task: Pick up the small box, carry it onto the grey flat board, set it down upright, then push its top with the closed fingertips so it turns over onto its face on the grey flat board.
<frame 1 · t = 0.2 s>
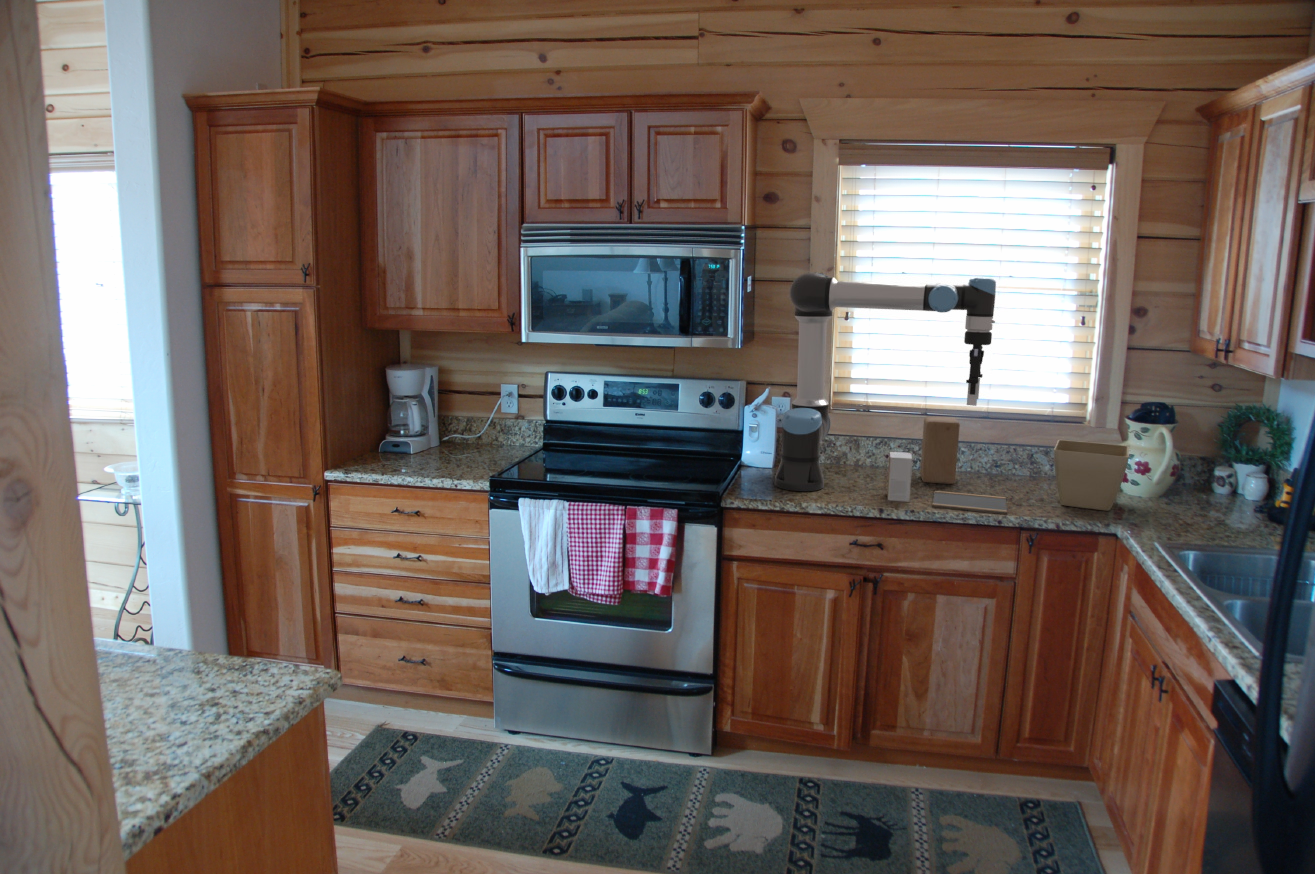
hand: (972, 402, 266), 27 cm above the worktop, fingers open, 13 cm apart
grey flat board: (969, 503, 257), on the worktop
small box: (897, 498, 263), on the worktop
wooden block: (937, 480, 285), on the worktop
flower pot: (1085, 504, 259), on the worktop
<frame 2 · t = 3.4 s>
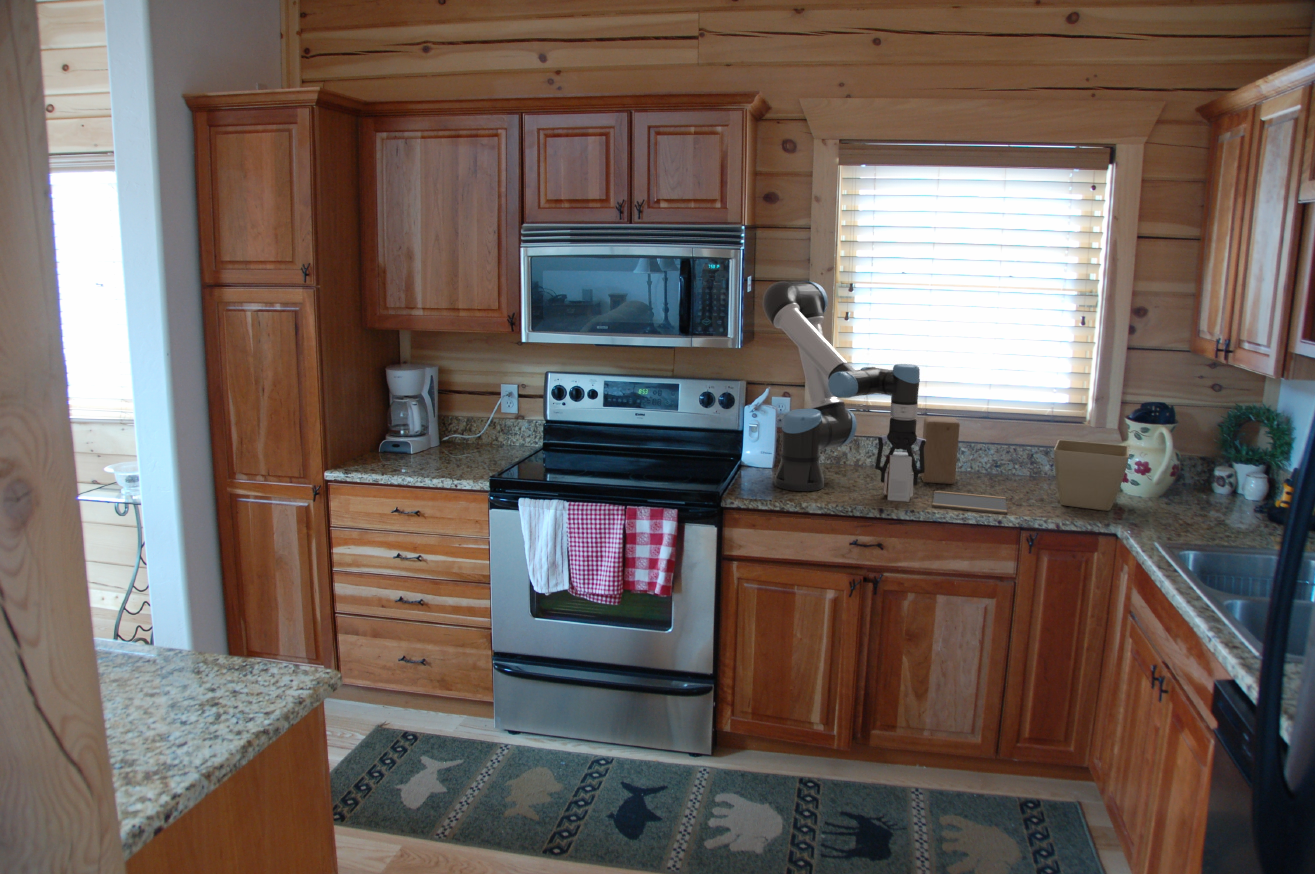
hand: (898, 494, 263), 1 cm above the worktop, fingers closed on small box, 7 cm apart
small box: (897, 498, 263), on the worktop, touching gripper
everything else where it was.
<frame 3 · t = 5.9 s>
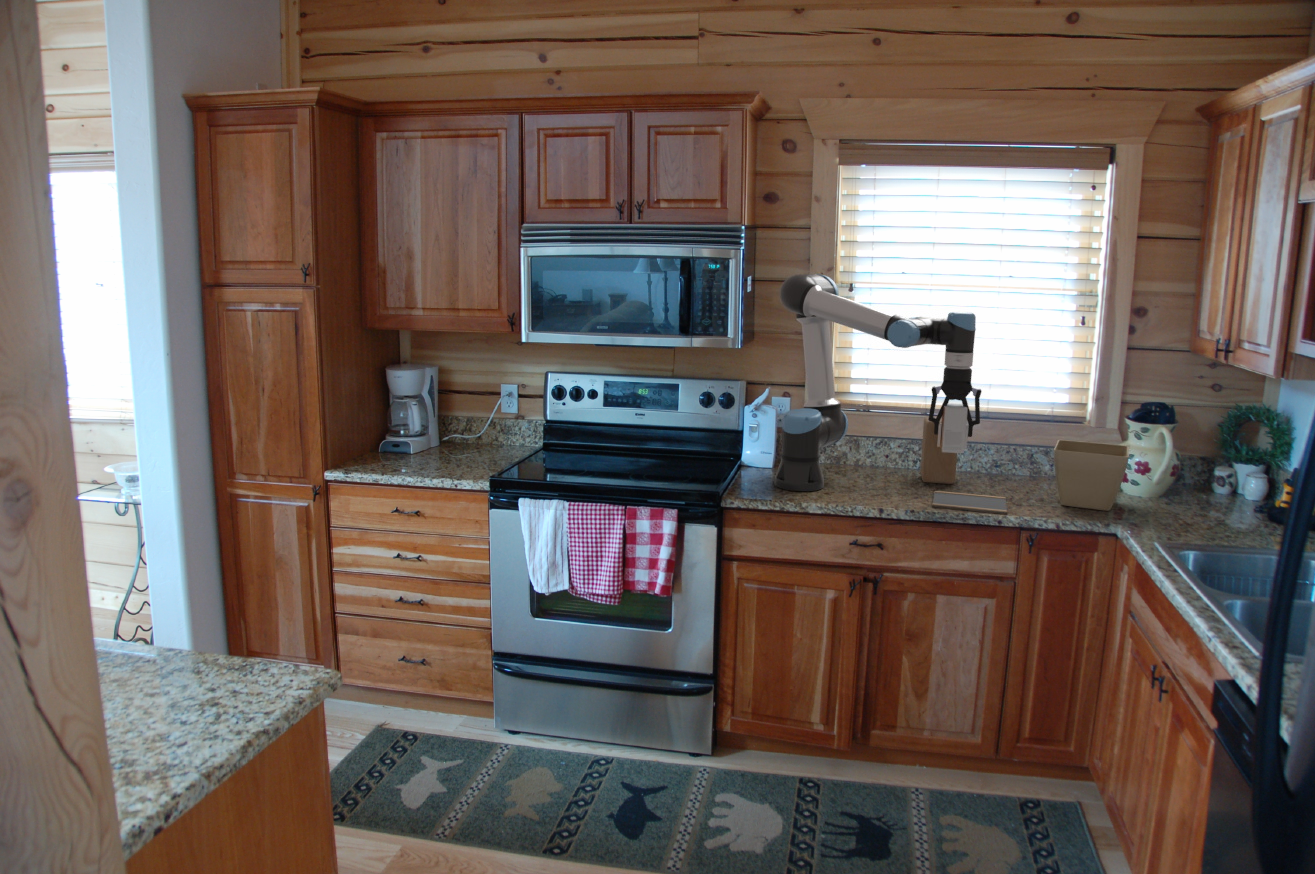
hand: (952, 446, 256), 16 cm above the worktop, fingers closed on small box, 7 cm apart
small box: (951, 450, 256), point 15 cm above the worktop, touching gripper
everything else where it was.
when the fingers open (3 cm above the worktop, at t = 8.2 s): small box drops 1 cm, resting on grey flat board.
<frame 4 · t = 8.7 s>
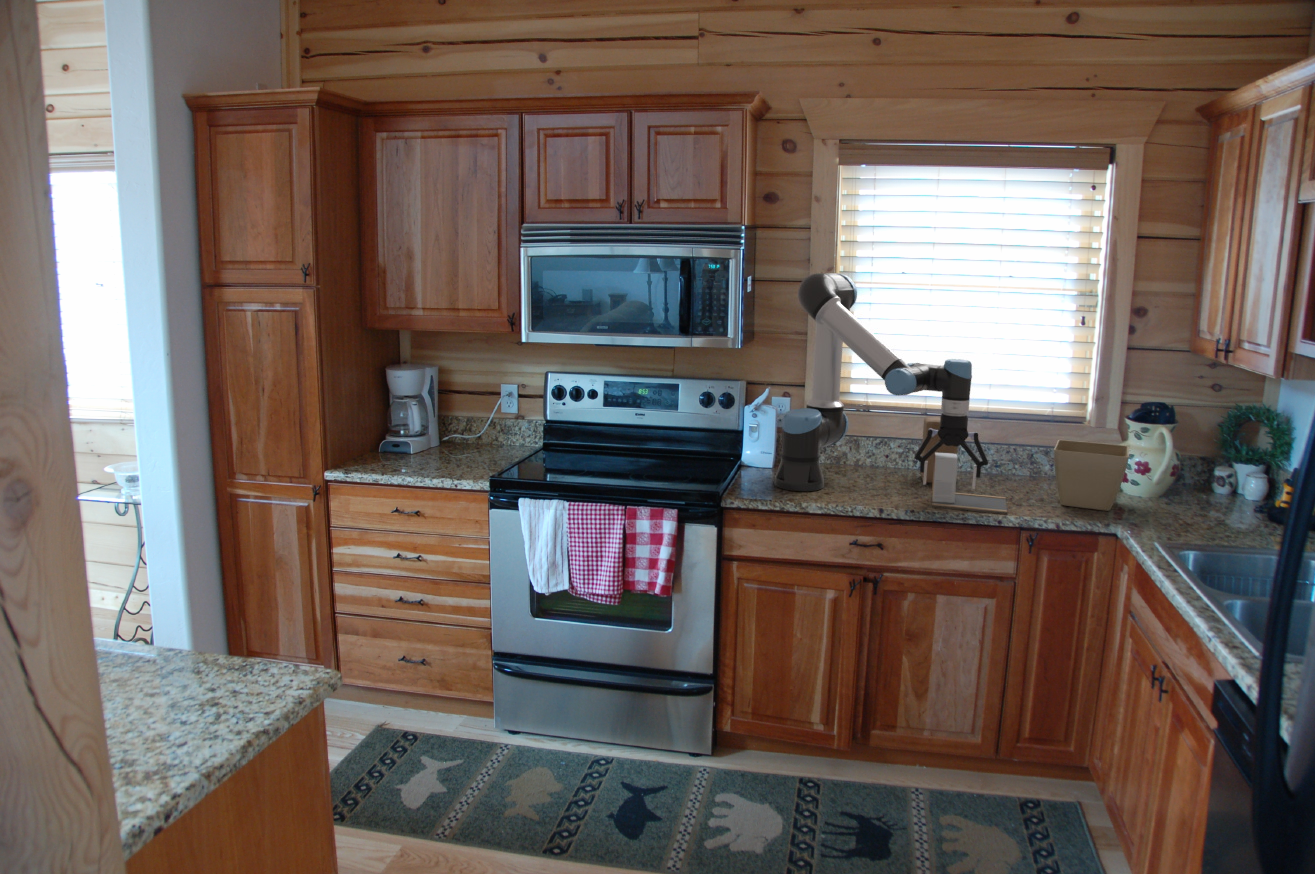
hand: (948, 485, 258), 5 cm above the worktop, fingers open, 13 cm apart
small box: (942, 499, 260), resting on grey flat board
everything else where it was.
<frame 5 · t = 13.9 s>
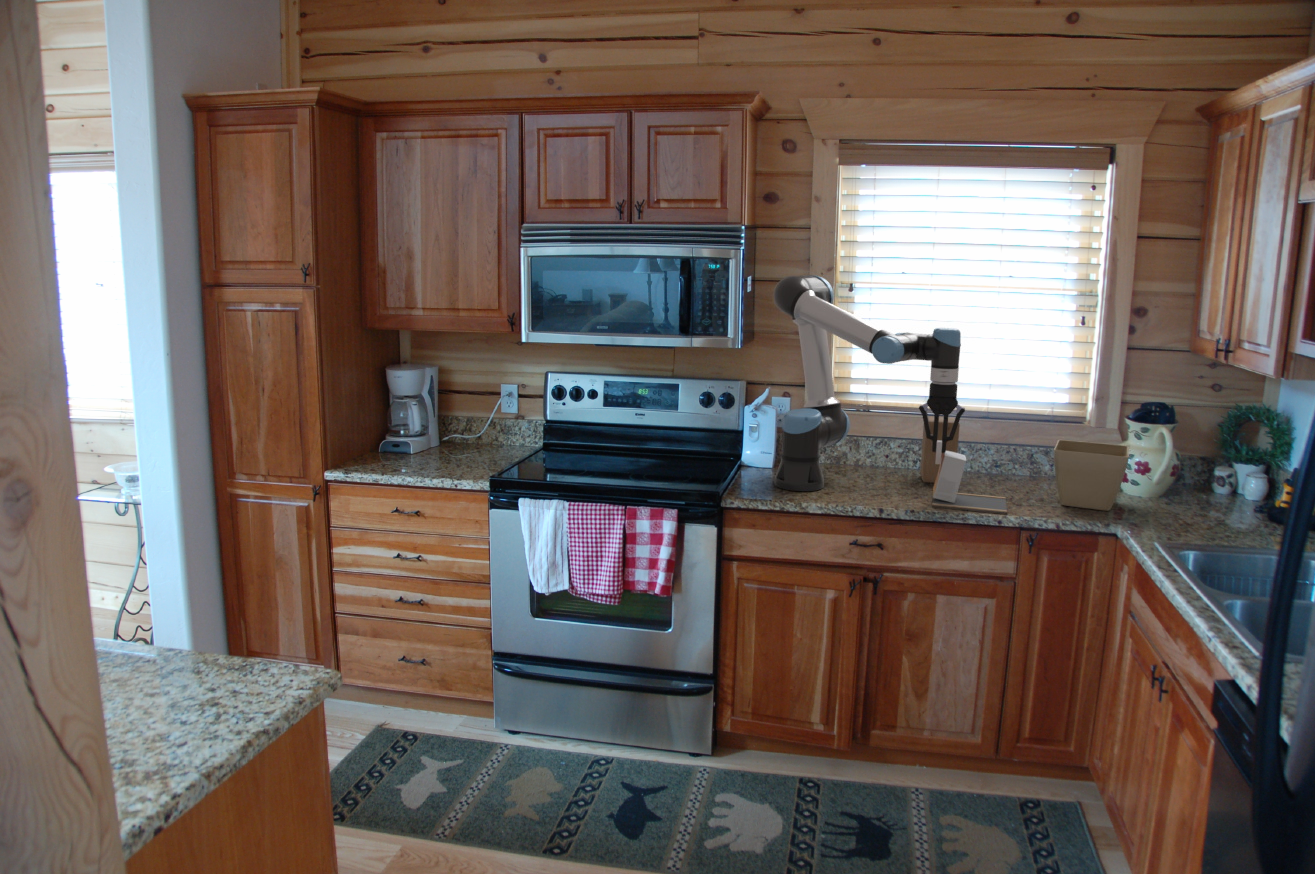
hand: (938, 463, 258), 11 cm above the worktop, fingers closed
small box: (943, 497, 260), point 1 cm above the worktop, touching gripper, grey flat board
everything else where it was.
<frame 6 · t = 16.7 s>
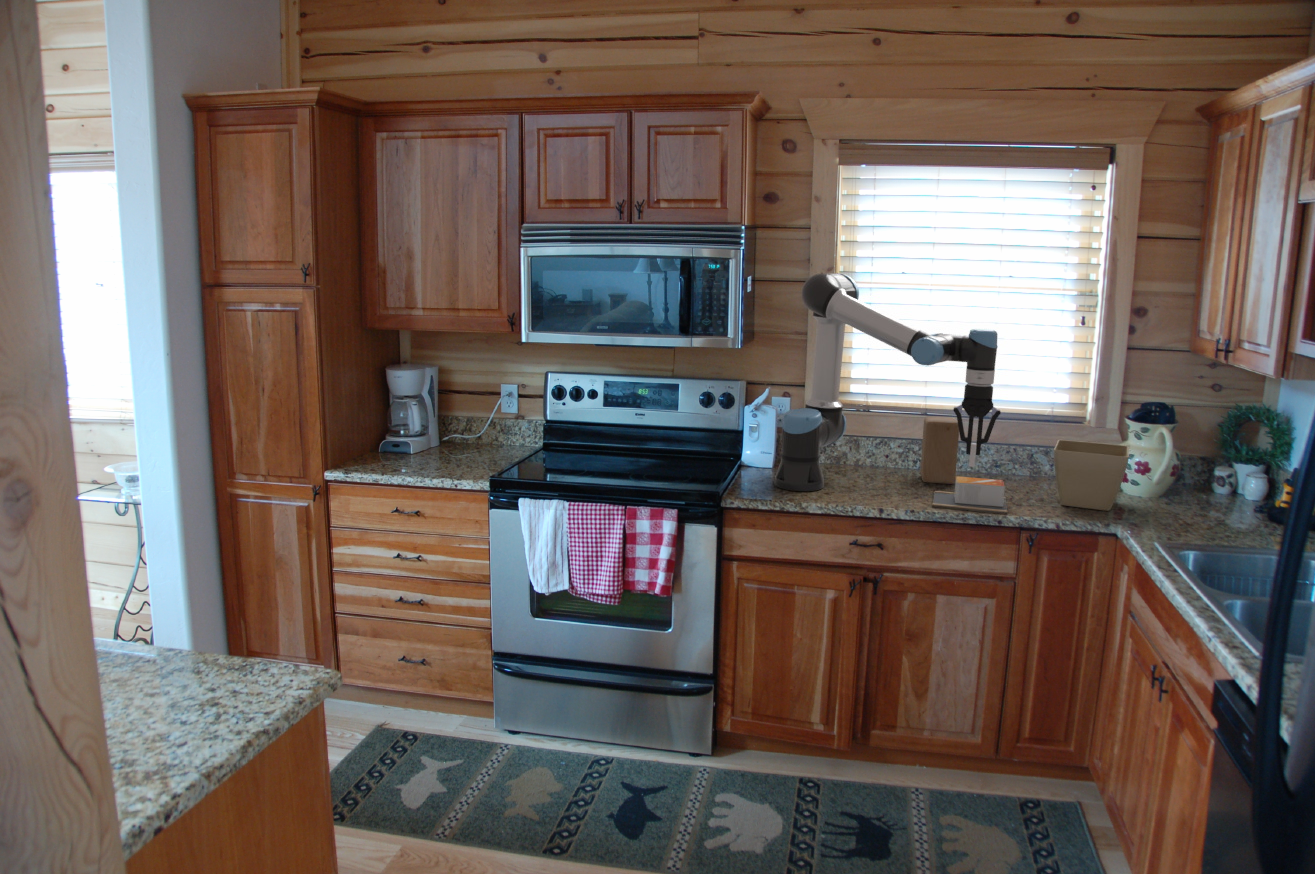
hand: (971, 465, 255), 11 cm above the worktop, fingers closed
small box: (954, 489, 258), point 4 cm above the worktop, touching grey flat board
everything else where it was.
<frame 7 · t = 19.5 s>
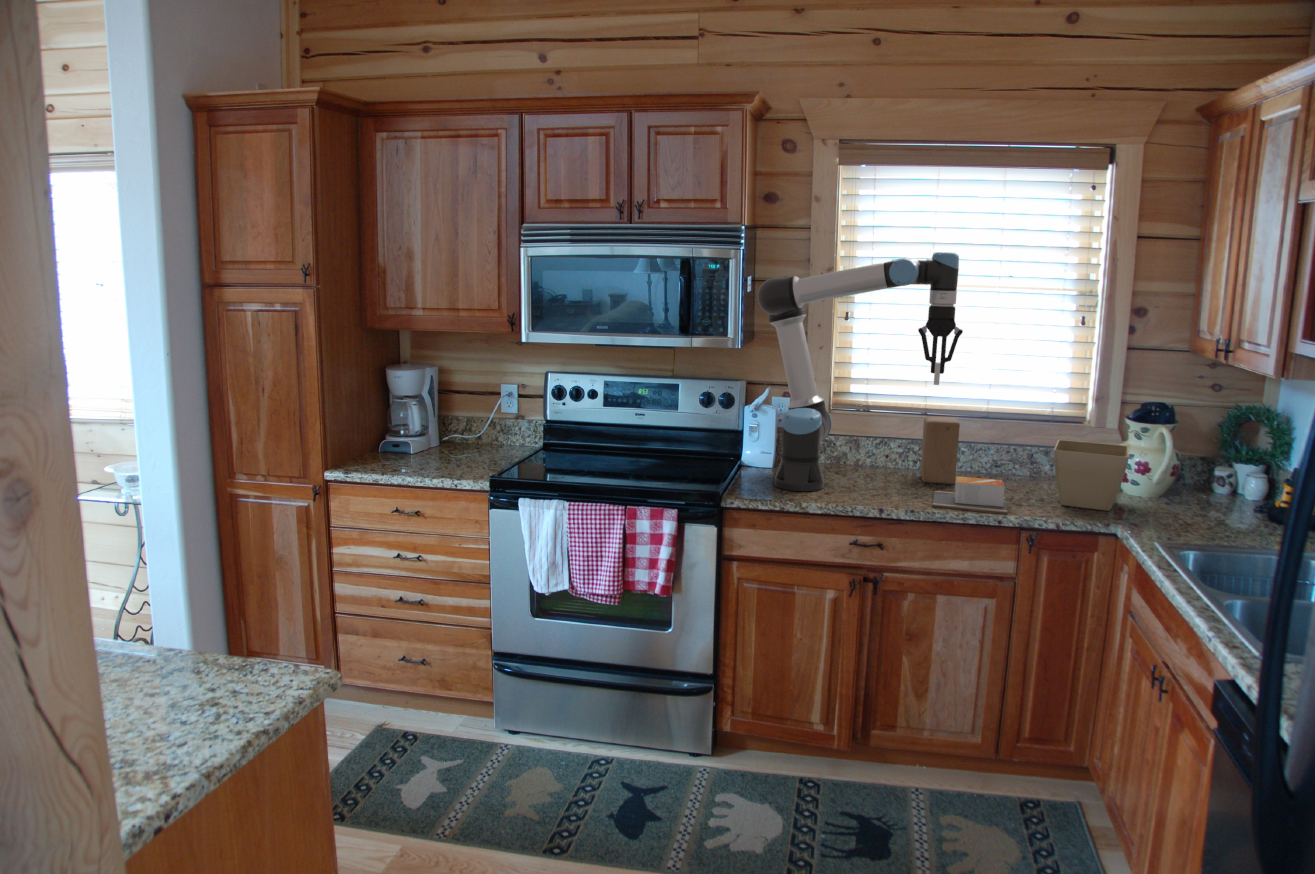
hand: (936, 384, 268), 32 cm above the worktop, fingers closed
nothing on the worktop moved.
at the end: small box tilted 90°; small box inside the target area on the grey flat board (4.3 cm from its centre), point 3.8 cm above the grey flat board's base; the gripper is holding nothing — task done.
